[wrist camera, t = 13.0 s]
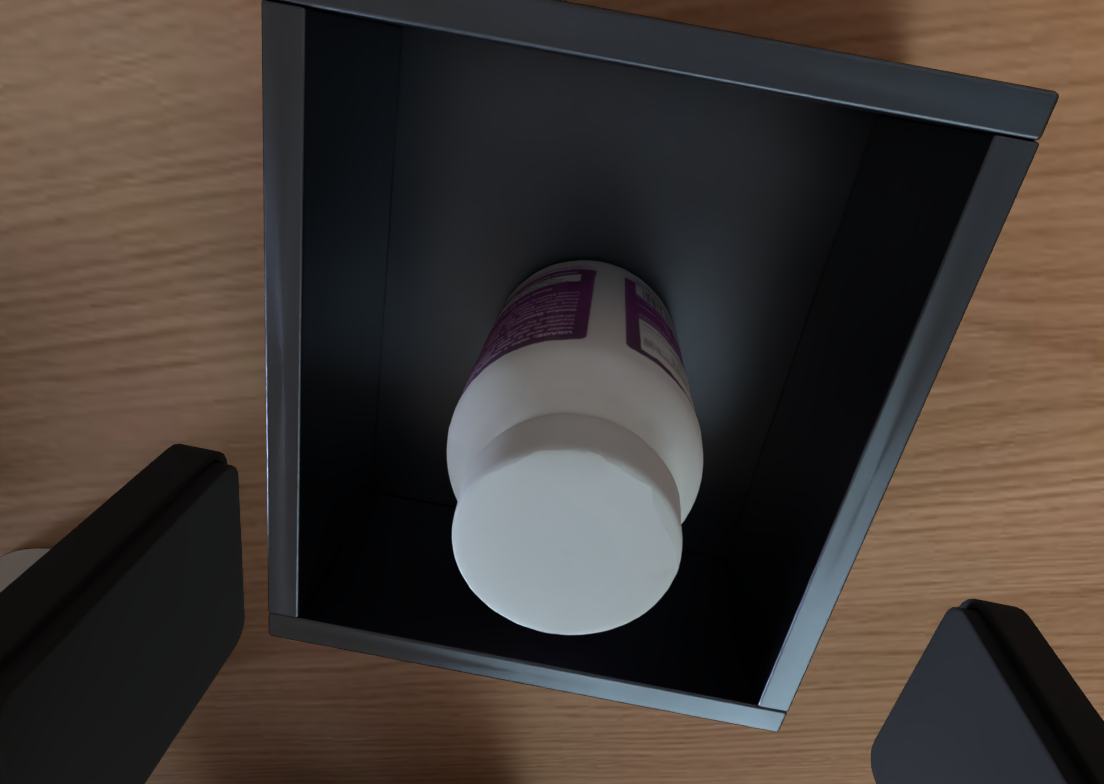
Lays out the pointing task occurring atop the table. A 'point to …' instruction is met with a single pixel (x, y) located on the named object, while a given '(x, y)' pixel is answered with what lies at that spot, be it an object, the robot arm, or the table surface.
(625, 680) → the open box
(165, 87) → the table surface
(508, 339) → the pill bottle
